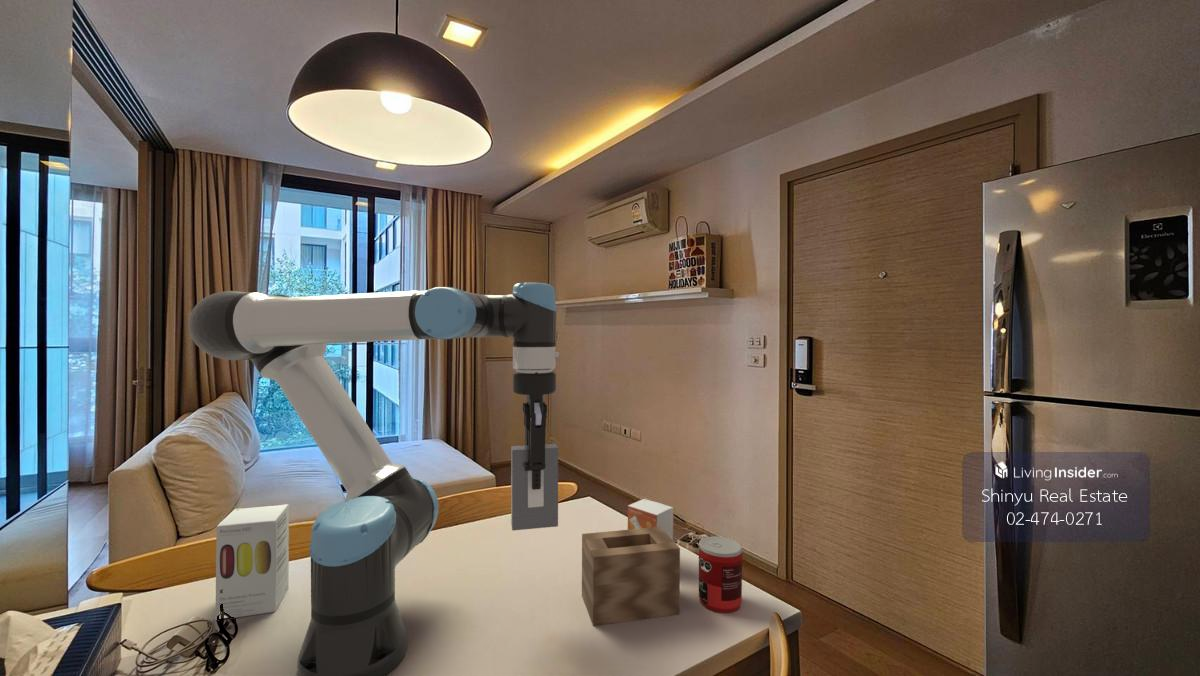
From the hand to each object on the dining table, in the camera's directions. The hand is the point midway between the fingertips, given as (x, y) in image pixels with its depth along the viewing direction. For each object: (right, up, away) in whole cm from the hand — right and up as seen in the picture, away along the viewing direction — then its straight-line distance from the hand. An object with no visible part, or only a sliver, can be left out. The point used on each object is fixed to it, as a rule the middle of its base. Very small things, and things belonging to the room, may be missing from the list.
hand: (534, 502), depth 88 cm
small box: (+23, -21, +20) cm, 37 cm away
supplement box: (-53, -20, +4) cm, 57 cm away
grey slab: (0, -4, 0) cm, 4 cm away
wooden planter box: (+17, -21, +5) cm, 27 cm away
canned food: (+34, -21, +6) cm, 40 cm away
